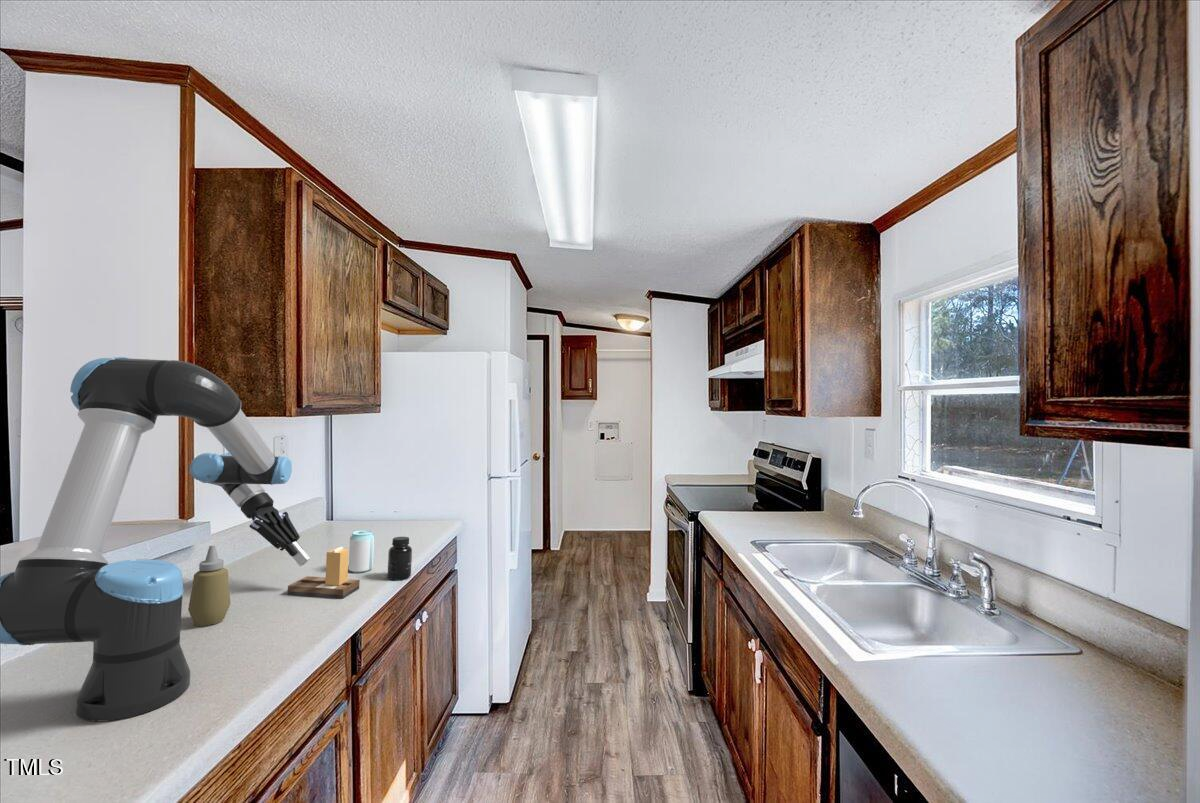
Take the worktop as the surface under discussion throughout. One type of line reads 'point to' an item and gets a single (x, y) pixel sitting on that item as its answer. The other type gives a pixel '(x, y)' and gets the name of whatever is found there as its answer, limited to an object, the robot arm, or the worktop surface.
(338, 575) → the fader tab
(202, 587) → the squeeze bottle
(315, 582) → the console
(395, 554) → the supplement bottle
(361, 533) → the can
